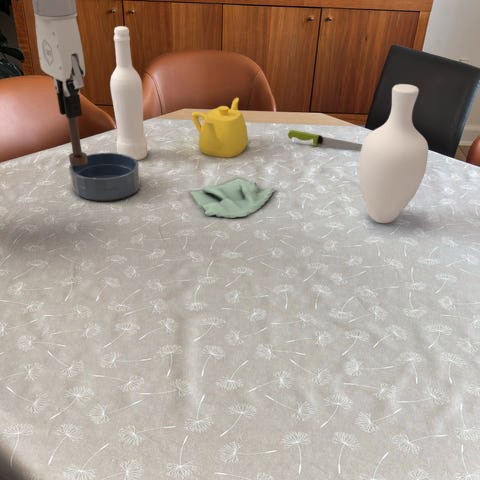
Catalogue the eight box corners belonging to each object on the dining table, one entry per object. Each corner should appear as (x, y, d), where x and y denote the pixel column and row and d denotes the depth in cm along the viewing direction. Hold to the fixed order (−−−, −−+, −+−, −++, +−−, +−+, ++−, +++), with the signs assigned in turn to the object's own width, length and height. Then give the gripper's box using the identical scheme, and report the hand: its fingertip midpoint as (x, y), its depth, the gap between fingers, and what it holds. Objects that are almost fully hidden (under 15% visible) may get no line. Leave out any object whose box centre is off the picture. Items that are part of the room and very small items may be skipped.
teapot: (207, 131, 189) (207, 90, 181) (258, 138, 185) (259, 98, 177) (176, 158, 174) (174, 115, 166) (230, 167, 170) (230, 123, 162)
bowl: (93, 208, 151) (90, 185, 147) (61, 185, 160) (57, 162, 156) (152, 191, 158) (151, 168, 154) (118, 169, 167) (116, 147, 163)
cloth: (201, 221, 147) (200, 211, 145) (186, 182, 162) (186, 172, 161) (288, 215, 150) (289, 204, 148) (266, 177, 166) (266, 167, 164)
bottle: (111, 156, 173) (96, 27, 153) (131, 147, 178) (119, 21, 158) (134, 164, 170) (121, 33, 150) (154, 154, 175) (145, 26, 154)
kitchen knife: (365, 155, 181) (368, 144, 179) (365, 156, 180) (367, 145, 178) (287, 140, 183) (289, 129, 181) (286, 141, 182) (288, 130, 180)
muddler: (74, 167, 133) (62, 88, 123) (67, 161, 136) (54, 83, 125) (90, 163, 135) (79, 84, 125) (82, 157, 137) (71, 80, 127)
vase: (362, 201, 156) (381, 73, 137) (421, 214, 152) (450, 83, 132) (341, 225, 146) (360, 91, 127) (404, 240, 142) (432, 103, 123)
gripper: (15, 0, 119) (35, 107, 131) (56, 17, 110) (73, 130, 123) (53, -4, 122) (69, 101, 135) (95, 11, 114) (108, 122, 126)
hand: (71, 114), depth 129 cm, fingers closed on muddler
